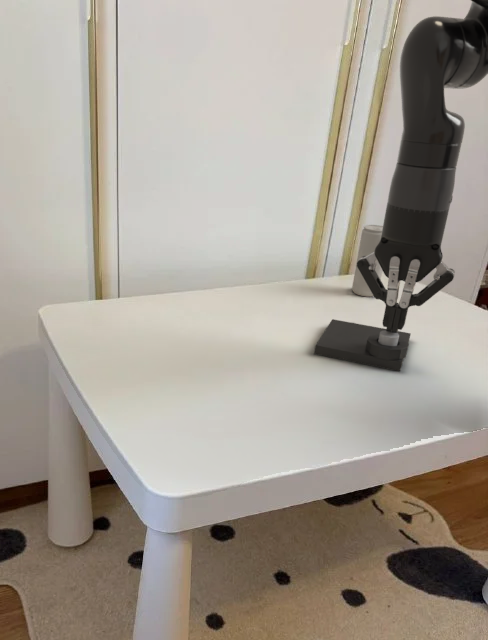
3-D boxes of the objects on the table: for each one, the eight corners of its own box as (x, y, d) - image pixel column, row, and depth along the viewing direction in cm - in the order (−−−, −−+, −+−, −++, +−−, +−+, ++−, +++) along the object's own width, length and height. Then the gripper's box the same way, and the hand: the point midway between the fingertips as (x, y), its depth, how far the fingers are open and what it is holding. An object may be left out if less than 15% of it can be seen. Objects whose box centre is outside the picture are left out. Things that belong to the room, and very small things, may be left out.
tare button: (398, 342, 89) (400, 332, 88) (395, 349, 87) (398, 338, 86) (379, 339, 90) (381, 328, 89) (376, 345, 88) (378, 335, 87)
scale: (410, 342, 96) (414, 323, 95) (401, 372, 86) (406, 352, 85) (330, 327, 100) (333, 309, 99) (313, 354, 90) (316, 335, 89)
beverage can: (373, 289, 119) (386, 225, 114) (381, 297, 115) (394, 231, 109) (348, 288, 119) (359, 224, 114) (355, 296, 115) (367, 230, 109)
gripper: (360, 201, 79) (339, 330, 87) (473, 213, 74) (440, 349, 82) (370, 192, 85) (350, 314, 93) (475, 203, 80) (444, 330, 89)
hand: (392, 330), depth 88 cm, fingers closed
